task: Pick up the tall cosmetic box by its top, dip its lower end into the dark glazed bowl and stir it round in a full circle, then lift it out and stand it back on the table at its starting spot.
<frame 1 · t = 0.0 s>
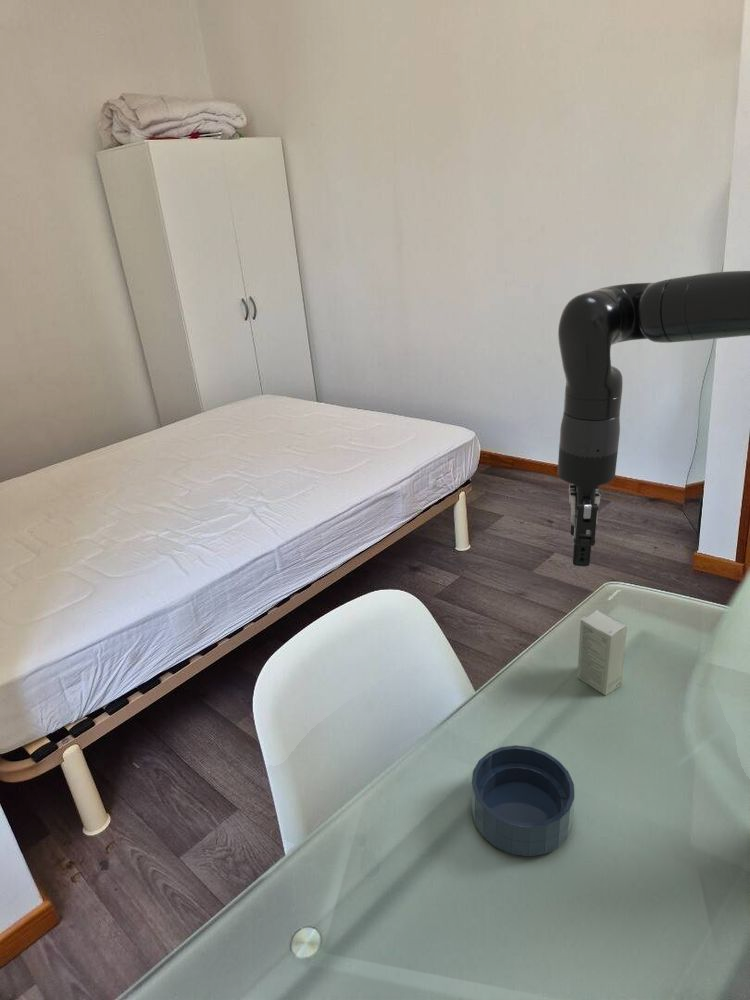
hand: (579, 549, 98), 29 cm above the table, tool pointing down, fingers open, 8 cm apart
bowl: (520, 815, 93), on the table
cosmetic box: (597, 682, 116), on the table
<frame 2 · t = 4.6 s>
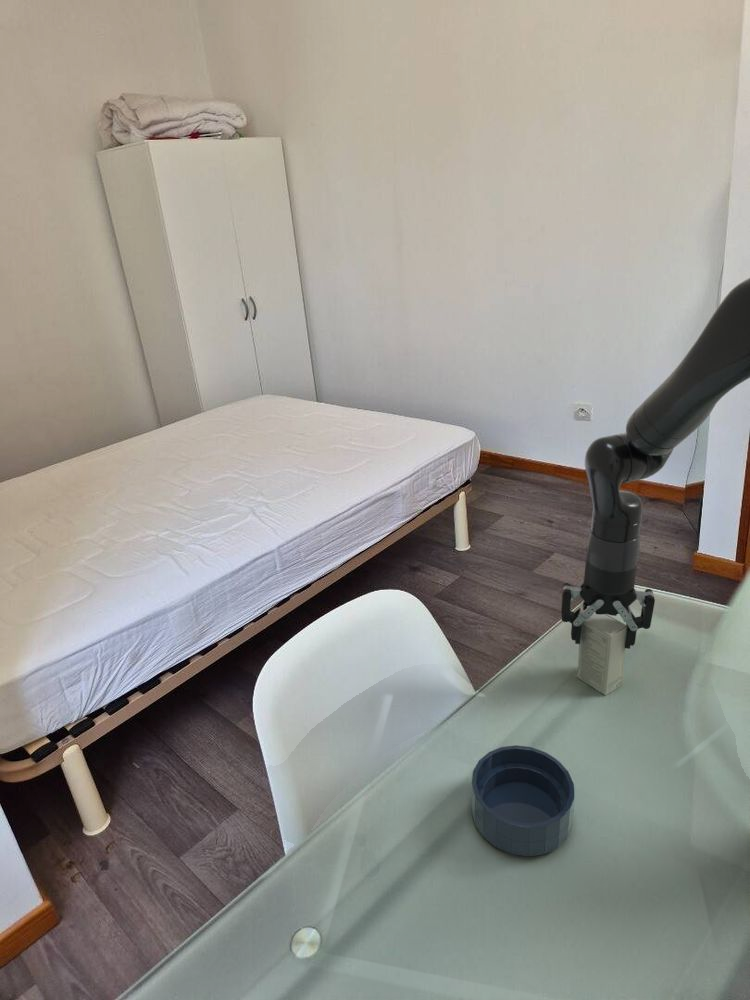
hand: (602, 643, 113), 8 cm above the table, tool pointing down, fingers closed on cosmetic box, 7 cm apart
cosmetic box: (598, 682, 116), on the table, touching gripper
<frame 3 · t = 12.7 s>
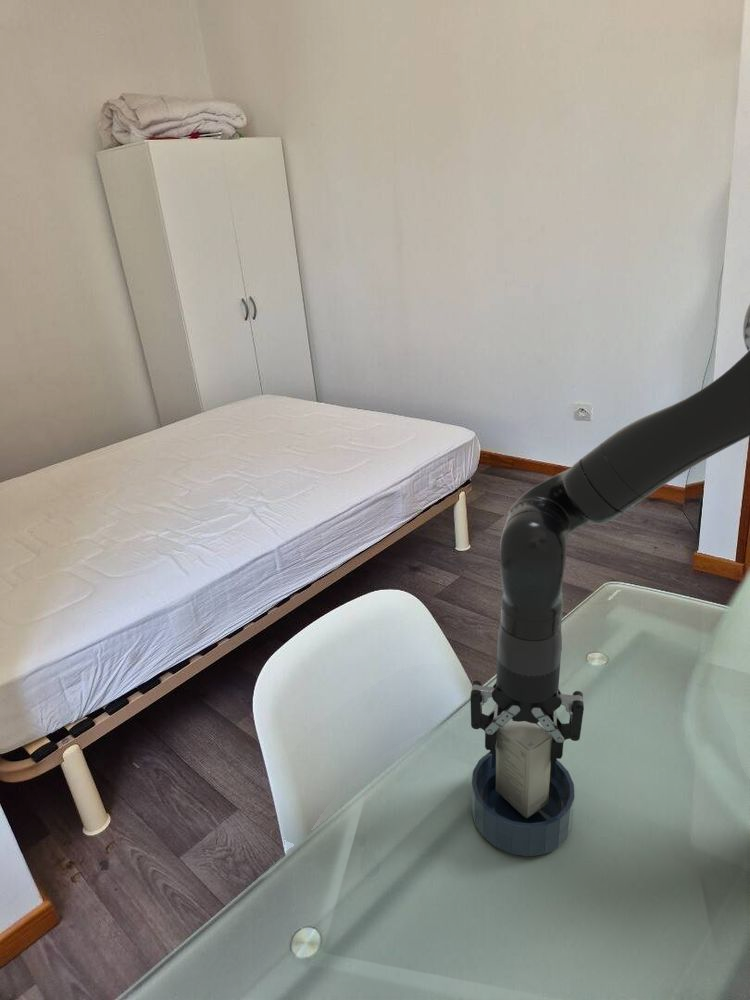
hand: (523, 753, 90), 10 cm above the table, tool pointing down, fingers closed on cosmetic box, 7 cm apart
cosmetic box: (520, 797, 94), point 2 cm above the table, touching gripper
when the fingers open (8 cm above the table, at t = 20.6 s): cosmetic box stays where it is, on the table.
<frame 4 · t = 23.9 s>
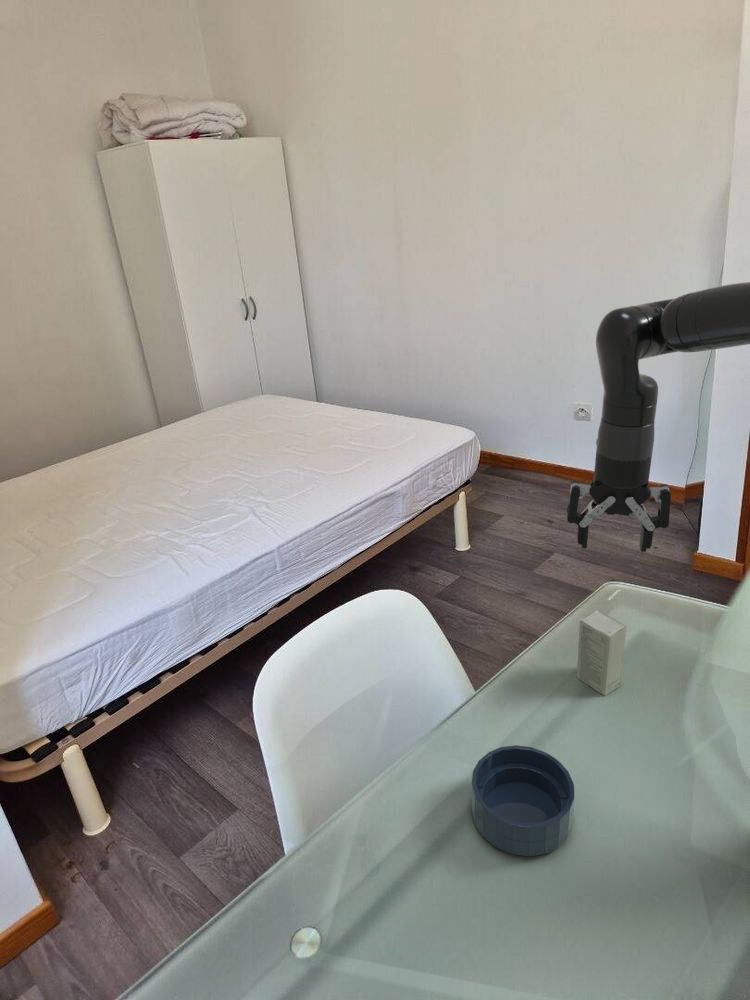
hand: (613, 547, 105), 26 cm above the table, tool pointing down, fingers open, 8 cm apart
cosmetic box: (597, 682, 116), on the table
at the end: cosmetic box tilted 0°; the gripper is holding nothing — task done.
